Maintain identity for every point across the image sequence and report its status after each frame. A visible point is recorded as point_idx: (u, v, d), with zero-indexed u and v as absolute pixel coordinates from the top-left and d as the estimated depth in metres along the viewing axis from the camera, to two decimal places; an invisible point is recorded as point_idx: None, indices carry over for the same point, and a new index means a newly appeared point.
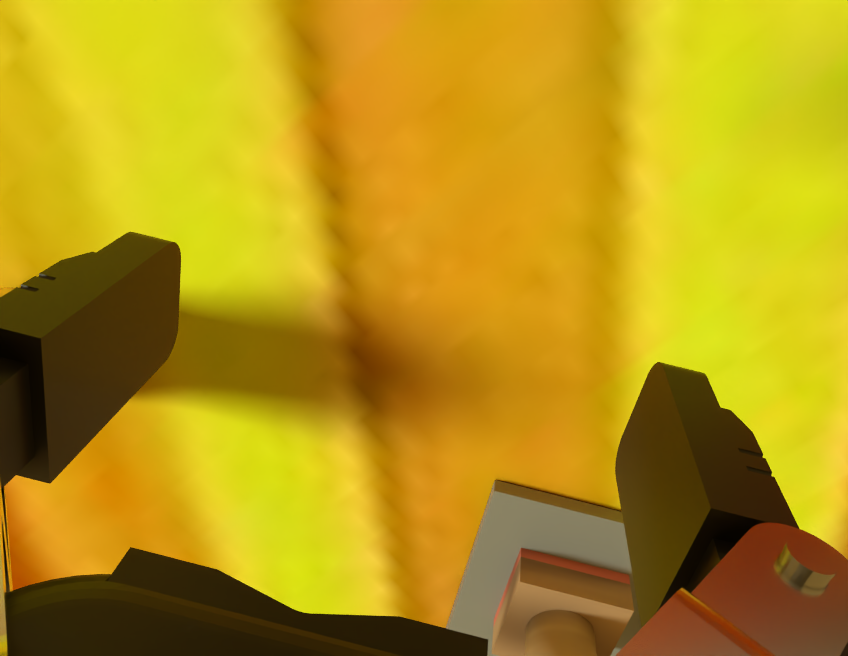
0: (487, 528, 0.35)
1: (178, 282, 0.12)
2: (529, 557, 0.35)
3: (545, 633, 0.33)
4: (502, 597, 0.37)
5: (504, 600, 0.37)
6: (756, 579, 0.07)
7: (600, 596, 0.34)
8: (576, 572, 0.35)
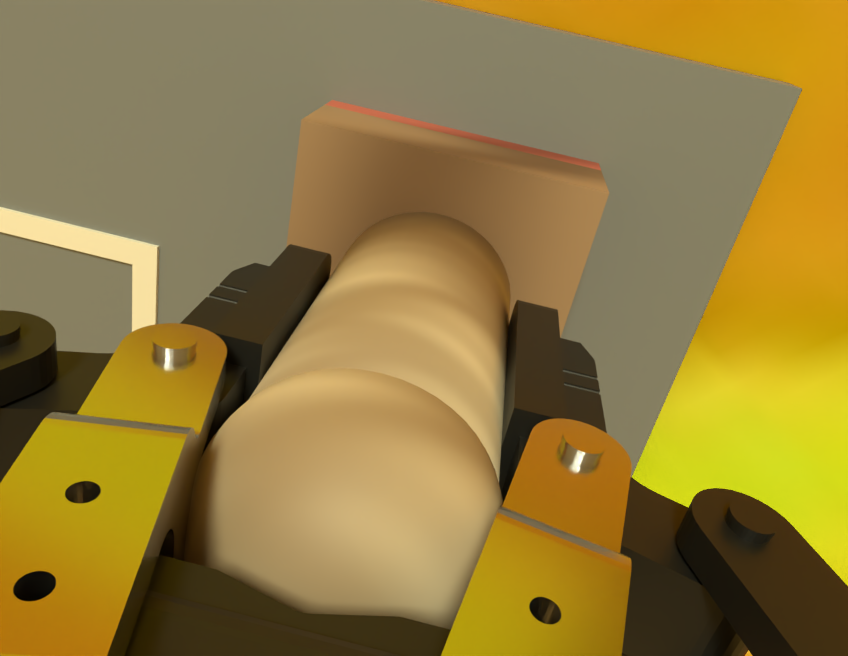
0: (666, 74, 0.13)
1: None
2: None
3: (496, 286, 0.12)
4: (420, 122, 0.14)
5: (442, 134, 0.14)
6: (548, 474, 0.08)
7: None
8: None
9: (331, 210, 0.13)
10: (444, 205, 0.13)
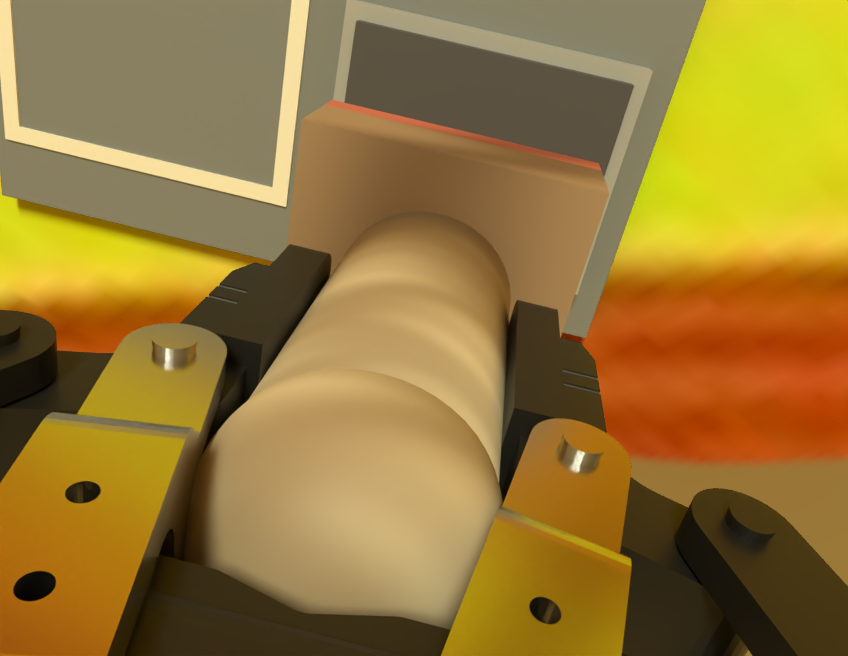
0: None
1: None
2: None
3: (496, 286, 0.12)
4: (420, 121, 0.14)
5: (442, 134, 0.14)
6: (548, 474, 0.08)
7: None
8: None
9: (331, 210, 0.13)
10: (444, 205, 0.13)
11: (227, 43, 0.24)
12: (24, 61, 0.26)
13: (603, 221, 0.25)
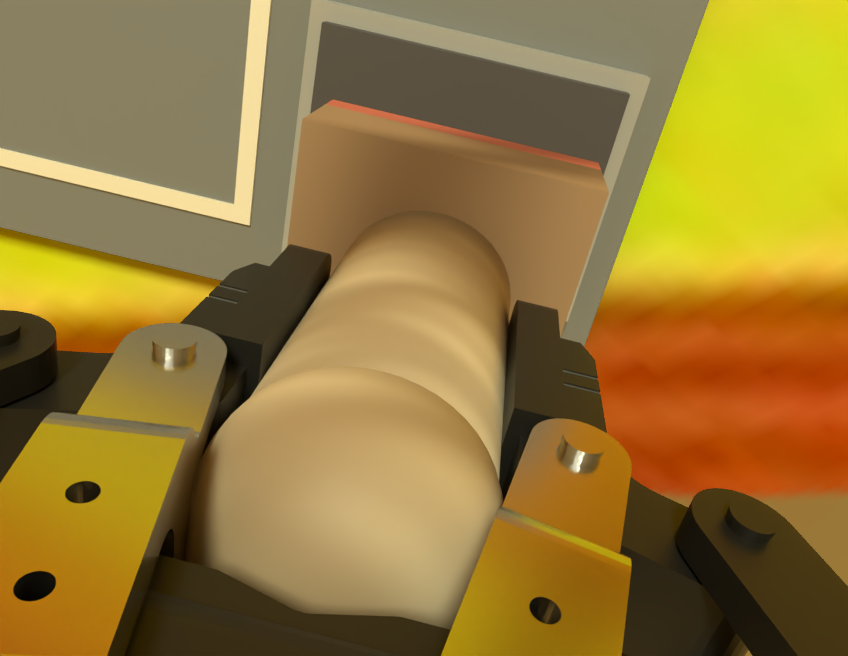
0: None
1: None
2: None
3: (496, 285, 0.12)
4: (420, 121, 0.14)
5: (442, 133, 0.14)
6: (548, 474, 0.08)
7: None
8: None
9: (332, 209, 0.13)
10: (444, 204, 0.13)
11: (181, 46, 0.22)
12: None
13: (596, 241, 0.23)
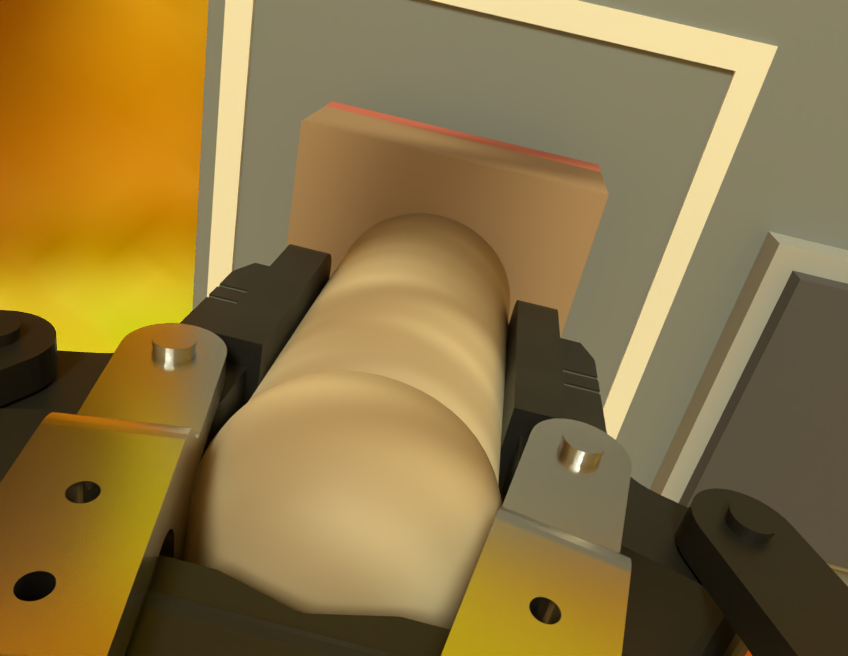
0: None
1: None
2: None
3: (496, 287, 0.12)
4: (420, 123, 0.14)
5: (442, 135, 0.14)
6: (548, 474, 0.08)
7: None
8: None
9: (331, 211, 0.13)
10: (444, 206, 0.13)
11: None
12: None
13: None
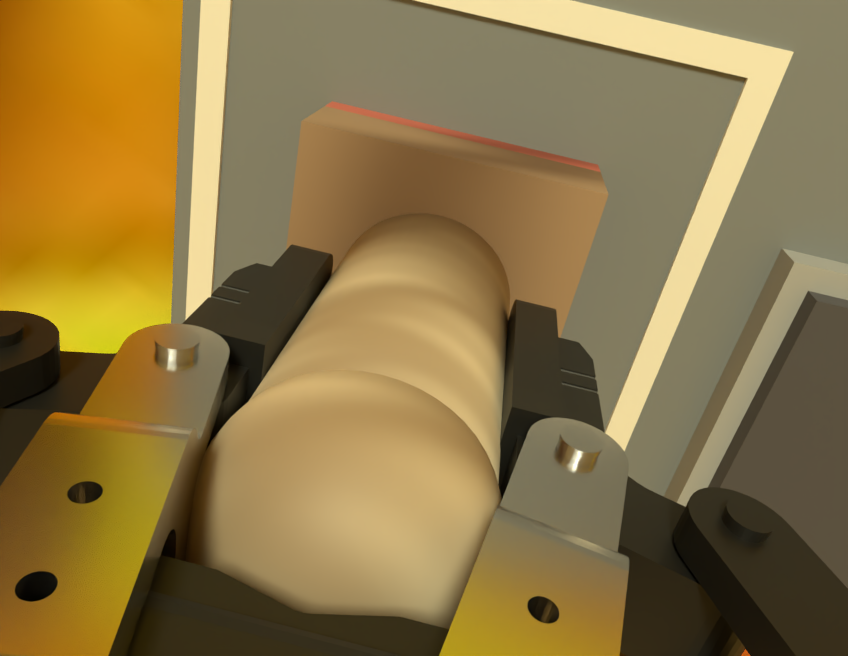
0: None
1: None
2: None
3: (496, 287, 0.12)
4: (420, 123, 0.14)
5: (442, 135, 0.14)
6: (546, 474, 0.08)
7: None
8: None
9: (331, 211, 0.13)
10: (444, 206, 0.13)
11: None
12: None
13: None
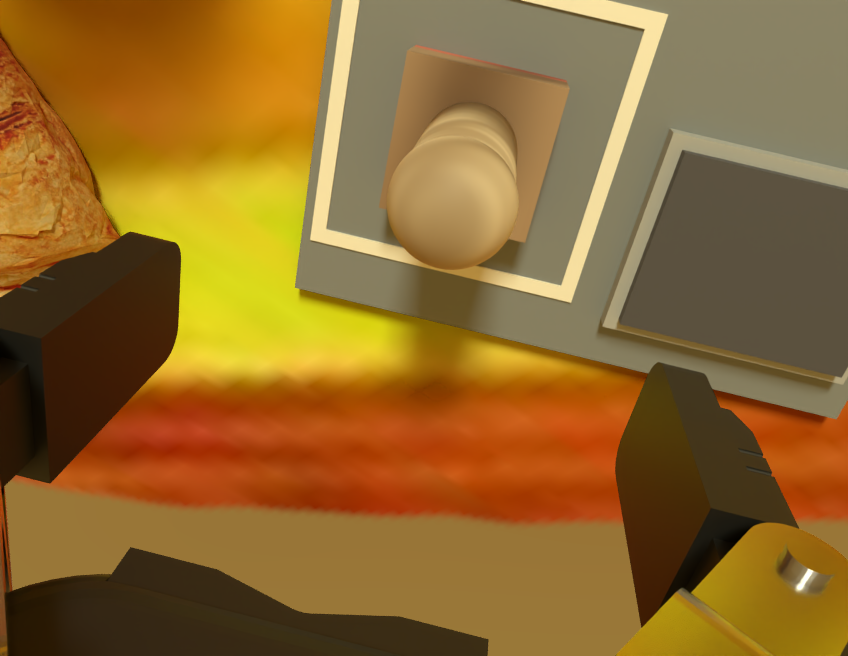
0: None
1: (178, 282, 0.12)
2: None
3: (510, 136, 0.23)
4: (466, 57, 0.25)
5: (479, 62, 0.25)
6: (756, 579, 0.07)
7: None
8: None
9: (420, 102, 0.24)
10: (482, 97, 0.24)
11: None
12: (342, 174, 0.28)
13: None
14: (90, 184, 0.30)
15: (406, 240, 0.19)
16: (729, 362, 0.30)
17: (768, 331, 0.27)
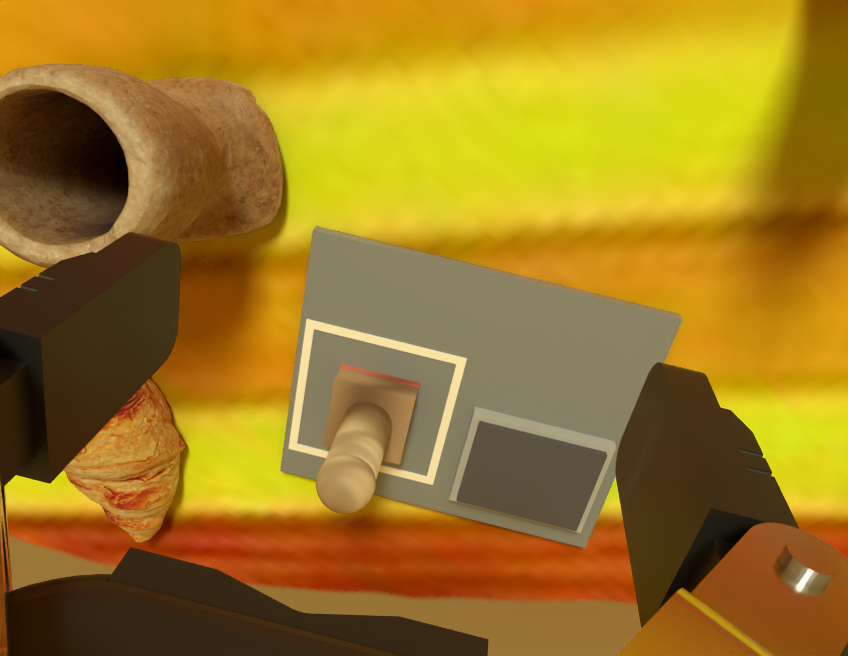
0: (641, 314, 0.44)
1: (178, 282, 0.12)
2: (417, 392, 0.49)
3: (384, 425, 0.47)
4: (367, 371, 0.49)
5: (373, 377, 0.48)
6: (756, 578, 0.07)
7: (404, 443, 0.49)
8: None
9: (341, 401, 0.48)
10: (372, 401, 0.47)
11: (411, 418, 0.50)
12: (305, 418, 0.52)
13: None
14: (169, 416, 0.54)
15: (323, 503, 0.42)
16: (522, 517, 0.53)
17: (534, 507, 0.51)
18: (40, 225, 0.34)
